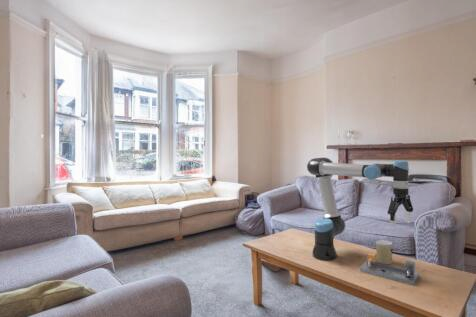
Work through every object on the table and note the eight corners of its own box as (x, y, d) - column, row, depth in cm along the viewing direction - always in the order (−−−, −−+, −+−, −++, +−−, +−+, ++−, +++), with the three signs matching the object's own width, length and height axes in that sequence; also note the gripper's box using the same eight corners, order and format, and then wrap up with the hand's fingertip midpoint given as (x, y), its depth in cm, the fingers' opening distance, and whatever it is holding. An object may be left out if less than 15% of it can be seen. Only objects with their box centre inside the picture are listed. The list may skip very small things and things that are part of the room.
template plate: (360, 271, 151) (359, 257, 151) (367, 263, 161) (366, 250, 161) (414, 285, 134) (413, 269, 134) (418, 275, 143) (418, 261, 143)
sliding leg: (365, 266, 152) (365, 256, 152) (369, 261, 158) (369, 252, 158) (372, 267, 149) (372, 258, 149) (376, 263, 155) (376, 253, 155)
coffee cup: (395, 265, 157) (395, 245, 157) (378, 264, 159) (378, 244, 159) (390, 258, 166) (389, 239, 166) (373, 258, 168) (373, 239, 168)
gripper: (393, 190, 143) (393, 229, 144) (420, 186, 154) (420, 222, 155) (380, 188, 150) (380, 225, 151) (407, 185, 161) (407, 219, 162)
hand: (400, 224), depth 153 cm, fingers open, 13 cm apart
